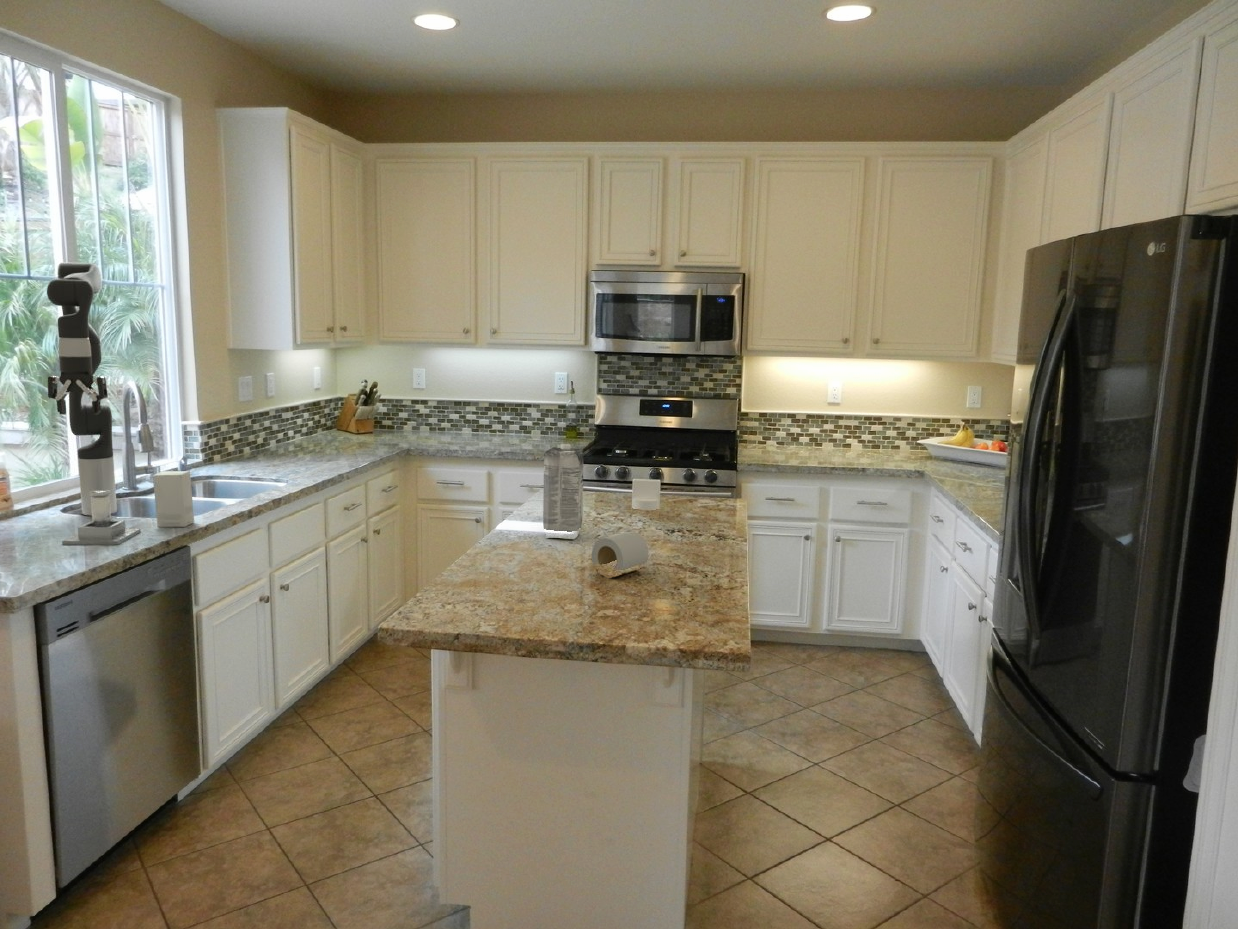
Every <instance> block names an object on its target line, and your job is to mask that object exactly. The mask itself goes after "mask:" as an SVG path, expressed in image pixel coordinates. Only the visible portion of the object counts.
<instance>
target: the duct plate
mask: <svg viewBox="0 0 1238 929" xmlns="http://www.w3.org/2000/svg"><path fill="white" fill-rule="evenodd" d="M139 534H141V528H126V520H111V526H109V527H93V523H92V520H90V521H88V522H86V523H84V524H82V525H80V526H78V527H77V533H75V534H73V535H72V536H69V537H67V538H66V539H63V540H62V541H61V544H62V546H63V545H65V546H69V545H71V546H75V545H77V546H78V545H79V546H81V545H83V546H85V545H86V546H88V545H89V546H90V545H91V546H93V545H94V546H95V545H97V546H98V545H101V546H105V545H107V546H109V545H110V546H113V545H114V546H115V545H120V544H122V543H124V542H126V541H127V540H129V539H132V538H133V537H135V536H137V535H139Z"/></svg>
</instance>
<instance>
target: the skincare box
mask: <svg viewBox="0 0 1238 929" xmlns="http://www.w3.org/2000/svg"><path fill="white" fill-rule="evenodd" d="M152 481H153V491H154V492H153V493H154V503H155V513H156V523H157V527H158V528H180V527H181V528H185V527H188V526H190V525H191V524H193V523H194V522H195V515H194V503H193V494H192V493H193V492H192V479H191V471H190V470H189V471H188V470H187V471H186V470H185V471H184V470H183V471H180V470H178V471H176V470H175V471H174V470H173V471H171V470H170V471H169V470H168V471H167V470H164V471H163V470H162V471H160V472H157V473H156V474H153V475H152Z"/></svg>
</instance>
